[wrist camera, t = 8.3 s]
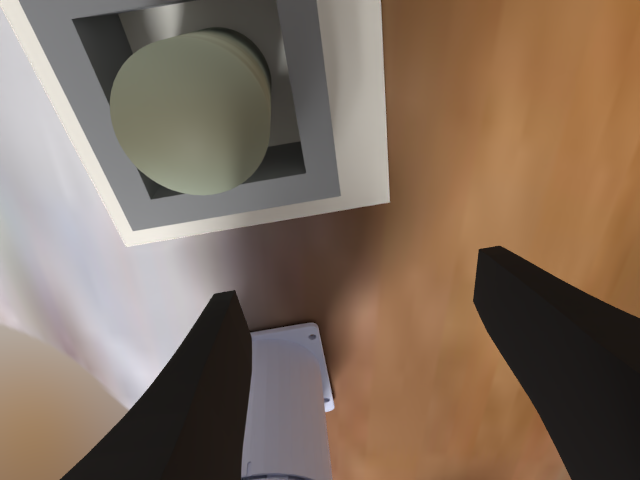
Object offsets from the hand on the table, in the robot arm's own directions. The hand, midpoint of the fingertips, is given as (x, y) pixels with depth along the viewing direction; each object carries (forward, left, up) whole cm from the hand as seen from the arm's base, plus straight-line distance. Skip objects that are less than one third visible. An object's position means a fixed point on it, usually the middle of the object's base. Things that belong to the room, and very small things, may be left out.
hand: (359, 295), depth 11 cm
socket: (+5, +4, -9) cm, 11 cm away
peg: (+5, +4, -9) cm, 11 cm away
